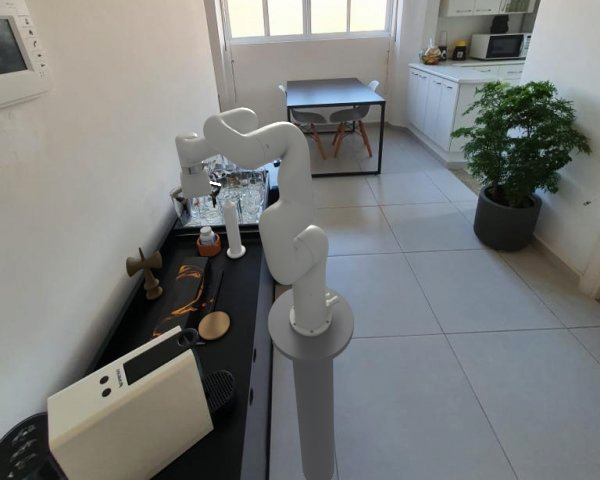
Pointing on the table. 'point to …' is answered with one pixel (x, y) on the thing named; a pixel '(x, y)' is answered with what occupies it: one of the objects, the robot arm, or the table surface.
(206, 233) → the pill bottle
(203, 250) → the pot
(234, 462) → the table surface
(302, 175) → the robot arm
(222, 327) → the coaster
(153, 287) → the kendama
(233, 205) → the candle
